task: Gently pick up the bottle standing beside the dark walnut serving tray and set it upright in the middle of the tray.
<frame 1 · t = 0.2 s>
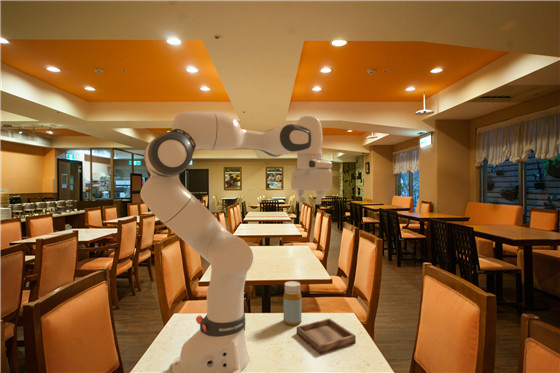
hand: (309, 203, 105), 47 cm above the table, tool pointing down, fingers open, 8 cm apart
serving tray: (325, 338, 105), on the table
bottle: (292, 322, 117), on the table
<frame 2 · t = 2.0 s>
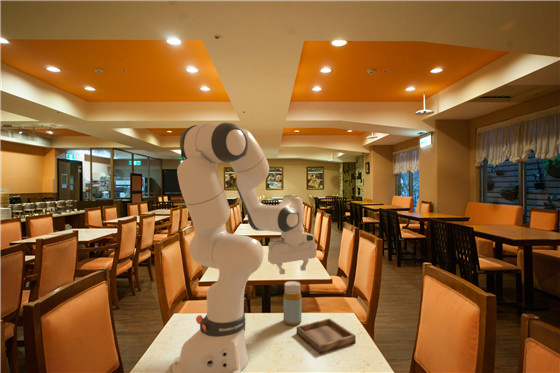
hand: (292, 272, 117), 19 cm above the table, tool pointing down, fingers open, 8 cm apart
nothing on the table moved.
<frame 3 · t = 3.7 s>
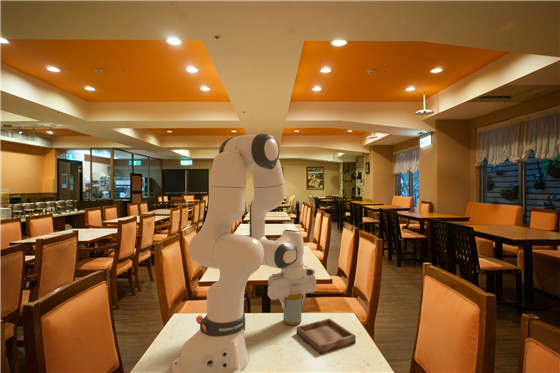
hand: (292, 306, 117), 6 cm above the table, tool pointing down, fingers closed on bottle, 6 cm apart
bottle: (292, 322, 117), on the table, touching gripper
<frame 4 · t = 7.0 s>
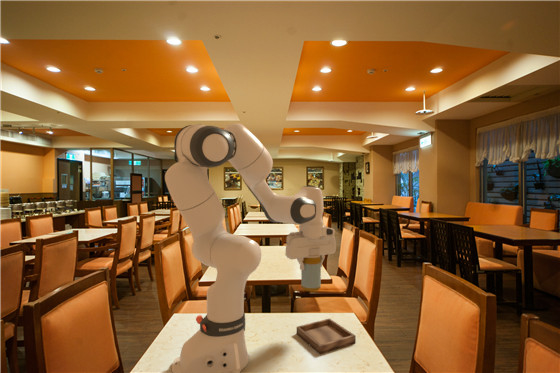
hand: (311, 268, 110), 23 cm above the table, tool pointing down, fingers closed on bottle, 6 cm apart
bottle: (310, 288, 110), point 15 cm above the table, touching gripper
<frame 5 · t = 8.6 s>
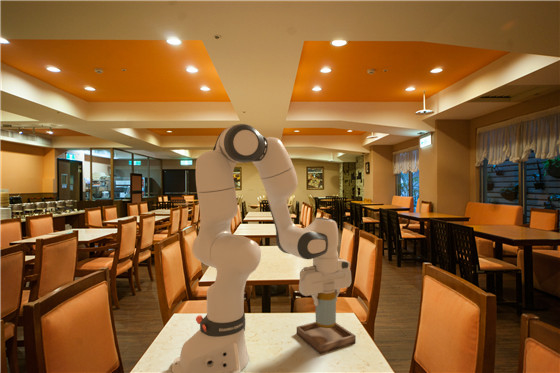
hand: (325, 303, 105), 12 cm above the table, tool pointing down, fingers closed on bottle, 6 cm apart
bottle: (325, 324, 105), point 5 cm above the table, touching gripper
when the fingers open (9 cm above the table, at t = 10.0 s): bottle stays where it is, resting on serving tray.
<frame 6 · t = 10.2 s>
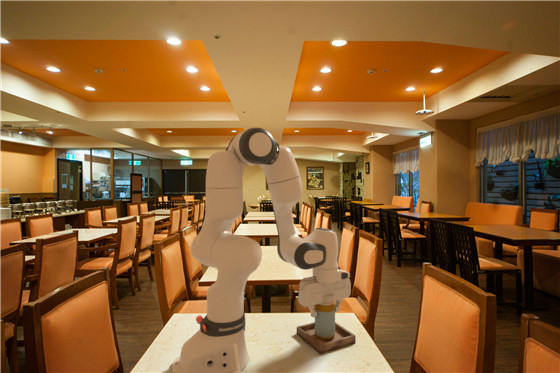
hand: (325, 313, 105), 9 cm above the table, tool pointing down, fingers open, 8 cm apart
bottle: (324, 336, 105), point 1 cm above the table, touching serving tray
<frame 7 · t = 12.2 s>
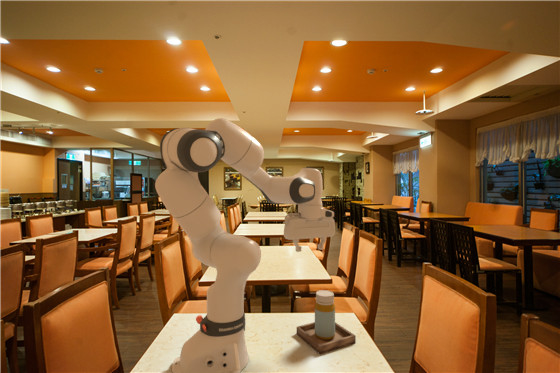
hand: (309, 250, 110), 30 cm above the table, tool pointing down, fingers open, 8 cm apart
nothing on the table moved.
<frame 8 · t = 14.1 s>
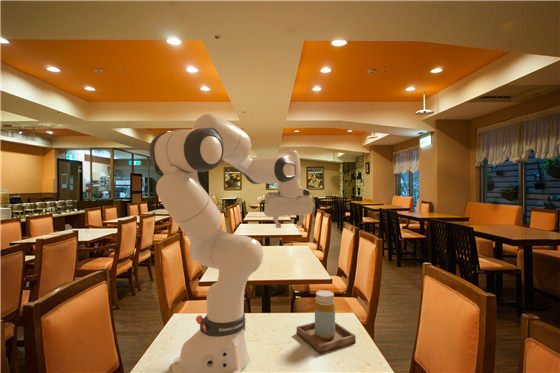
hand: (289, 227, 117), 37 cm above the table, tool pointing down, fingers open, 8 cm apart
nothing on the table moved.
at the end: bottle inside the target area on the serving tray (0.1 cm from its centre), point 0.6 cm above the serving tray's base; bottle tilted 0°; the gripper is holding nothing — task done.
